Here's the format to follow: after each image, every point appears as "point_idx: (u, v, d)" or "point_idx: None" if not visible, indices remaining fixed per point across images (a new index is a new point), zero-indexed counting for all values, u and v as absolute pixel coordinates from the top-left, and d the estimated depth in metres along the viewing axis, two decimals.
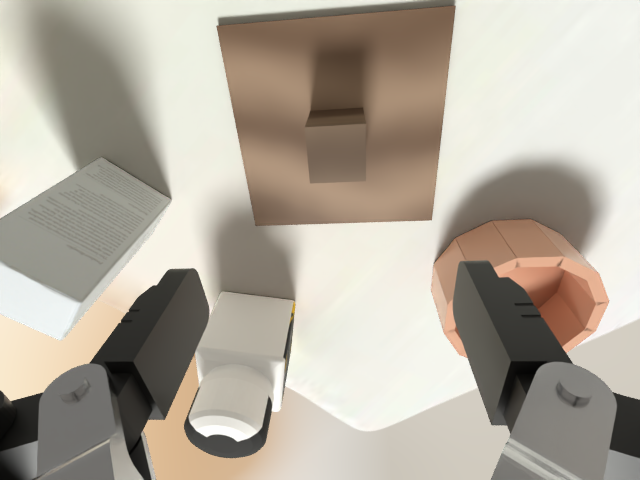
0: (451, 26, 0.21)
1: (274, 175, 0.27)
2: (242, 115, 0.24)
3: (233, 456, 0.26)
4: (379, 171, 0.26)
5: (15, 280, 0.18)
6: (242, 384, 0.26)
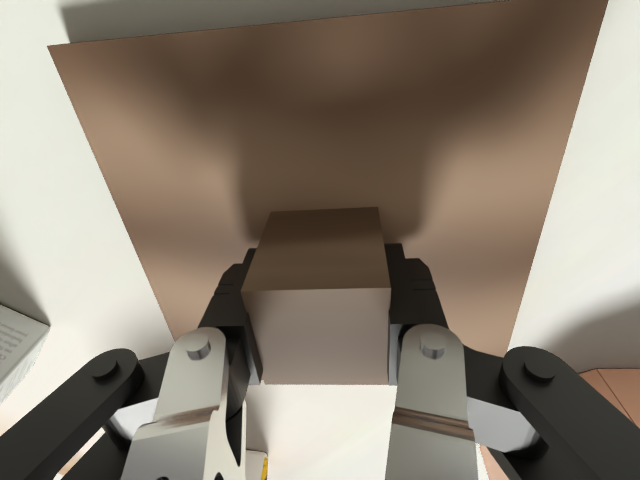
0: (592, 41, 0.09)
1: None
2: (137, 218, 0.12)
3: None
4: None
5: None
6: None
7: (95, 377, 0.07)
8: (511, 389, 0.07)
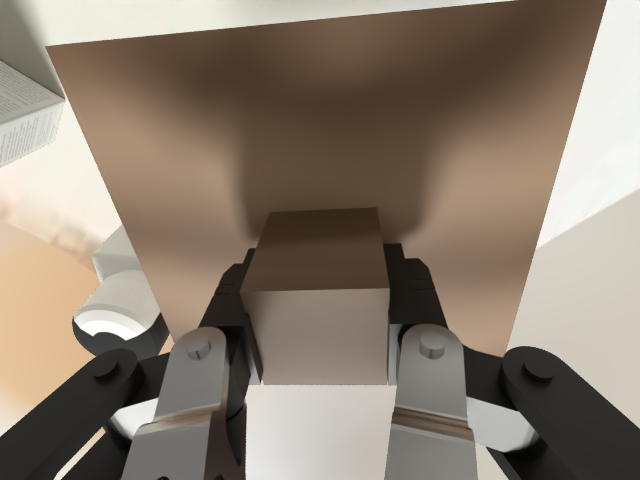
0: (590, 42, 0.09)
1: None
2: (136, 219, 0.12)
3: None
4: None
5: None
6: (135, 285, 0.25)
7: (96, 377, 0.07)
8: (510, 389, 0.07)
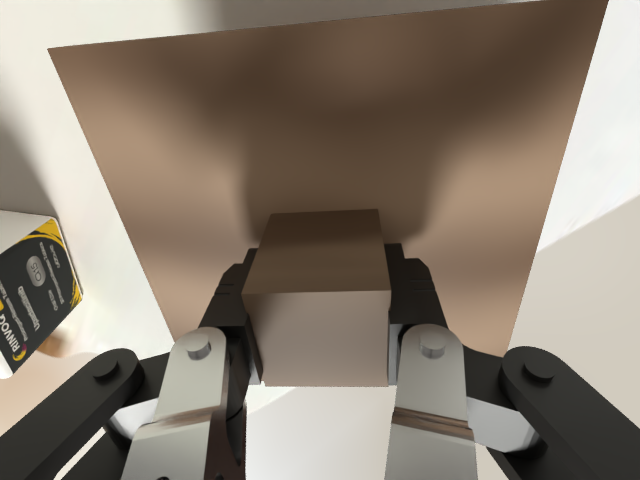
0: (591, 44, 0.09)
1: None
2: (138, 220, 0.12)
3: None
4: None
5: None
6: None
7: (95, 377, 0.07)
8: (511, 389, 0.07)
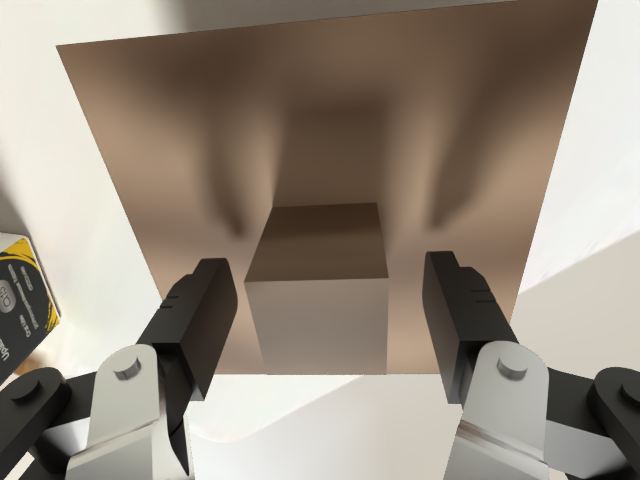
0: (583, 41, 0.09)
1: None
2: (142, 214, 0.13)
3: None
4: (406, 305, 0.14)
5: None
6: None
7: (15, 400, 0.07)
8: (601, 408, 0.06)
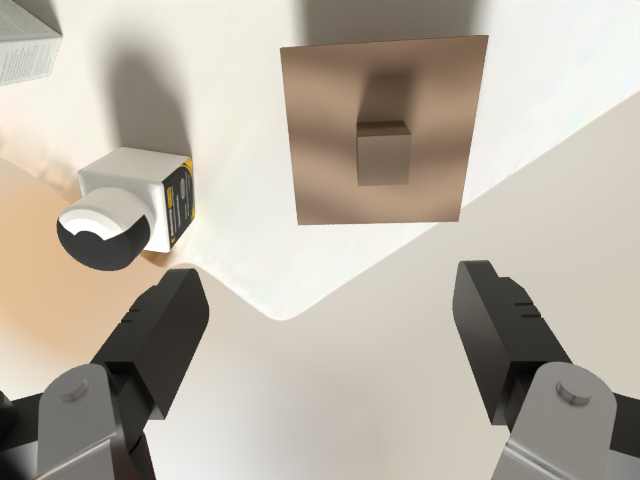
0: (484, 52, 0.24)
1: (319, 179, 0.30)
2: (295, 126, 0.27)
3: (105, 264, 0.28)
4: (414, 177, 0.29)
5: None
6: (115, 195, 0.28)
7: None
8: None
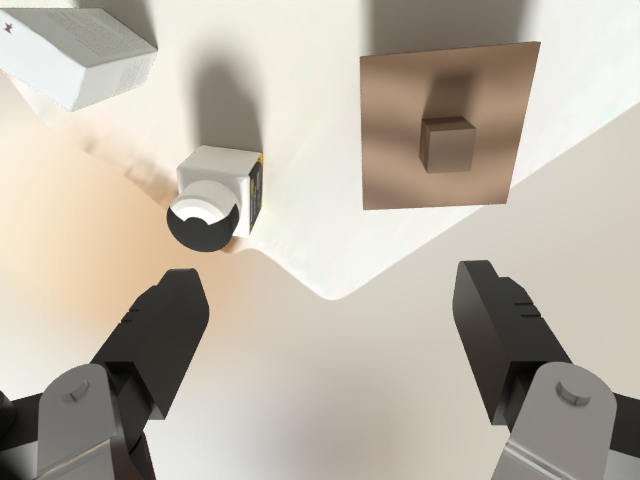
0: (536, 56, 0.28)
1: (385, 169, 0.34)
2: (367, 123, 0.32)
3: (206, 245, 0.33)
4: None
5: (38, 45, 0.25)
6: (213, 187, 0.33)
7: None
8: None
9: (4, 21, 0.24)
